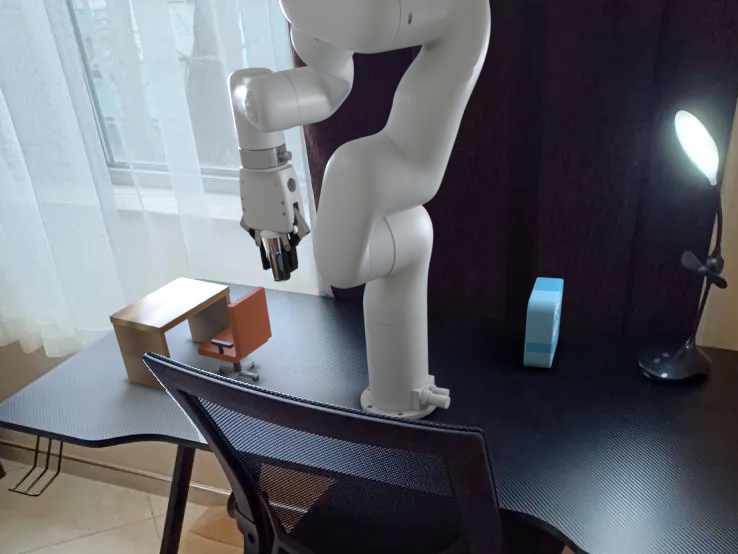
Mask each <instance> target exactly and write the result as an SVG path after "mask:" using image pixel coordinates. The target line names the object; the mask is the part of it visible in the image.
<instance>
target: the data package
mask: <svg viewBox="0 0 738 554" xmlns="http://www.w3.org/2000/svg"><path fill="white" fill-rule="evenodd" d="M564 283H565V282H564V279H563V278H554V277H540V276H539V277H536V279H535V282H534V284H533V287H532V291H531V293H530V295H529V299H528V304H527V311H526V325H525V338H524V339H525V340H524V353H523V366H525V367H533V368H542V369H543V368H544V369H551V367H552V365H553V364H552V363H553V360H554V357H555V353H556V349H557V345H558V341H559V333H560V324H561V313H562V302H563V292H564Z"/></svg>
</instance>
